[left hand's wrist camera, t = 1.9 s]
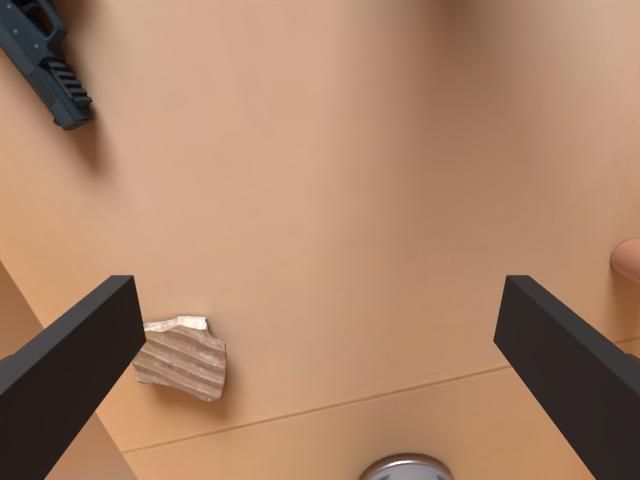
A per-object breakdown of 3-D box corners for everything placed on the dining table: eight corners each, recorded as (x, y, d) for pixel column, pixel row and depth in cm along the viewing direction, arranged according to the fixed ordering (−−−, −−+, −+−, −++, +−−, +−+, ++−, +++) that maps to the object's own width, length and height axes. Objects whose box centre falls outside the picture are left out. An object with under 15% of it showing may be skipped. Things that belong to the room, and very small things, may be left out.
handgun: (166, 74, 36) (73, 132, 38) (41, -129, 30) (-61, -48, 32) (152, 71, 33) (52, 135, 35) (10, -154, 27) (-100, -64, 29)
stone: (234, 321, 45) (229, 333, 43) (225, 394, 49) (220, 408, 47) (131, 304, 45) (120, 315, 42) (131, 379, 49) (121, 393, 46)
